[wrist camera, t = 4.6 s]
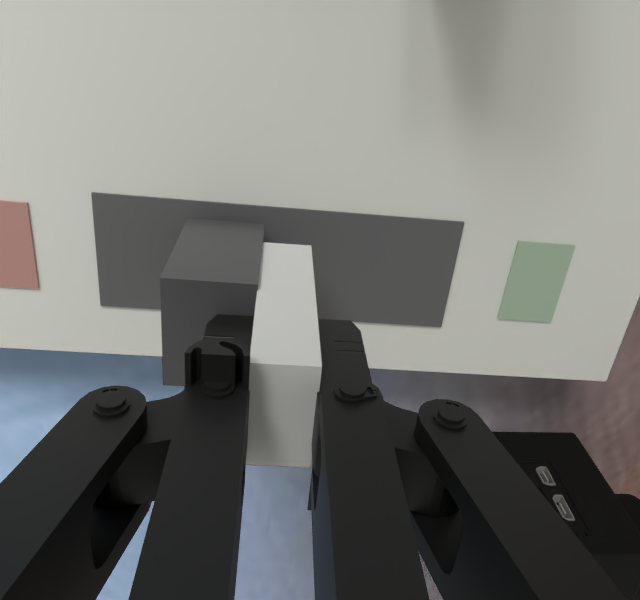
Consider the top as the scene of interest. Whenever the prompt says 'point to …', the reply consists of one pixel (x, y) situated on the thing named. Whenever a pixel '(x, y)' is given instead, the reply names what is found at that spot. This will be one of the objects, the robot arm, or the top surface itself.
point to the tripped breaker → (206, 284)
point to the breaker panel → (331, 169)
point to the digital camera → (583, 501)
